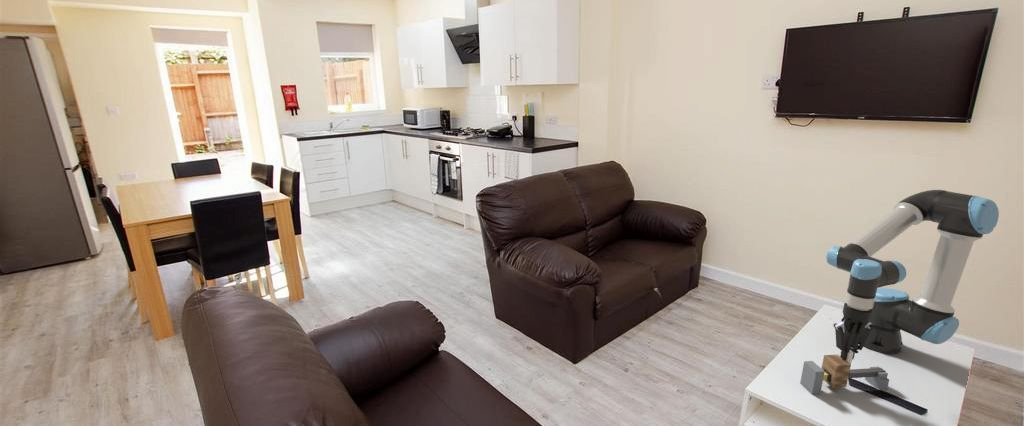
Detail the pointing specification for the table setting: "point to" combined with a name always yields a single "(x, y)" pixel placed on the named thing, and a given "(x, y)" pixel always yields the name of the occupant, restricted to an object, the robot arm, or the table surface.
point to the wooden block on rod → (836, 370)
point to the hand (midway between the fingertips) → (844, 366)
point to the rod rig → (873, 375)
